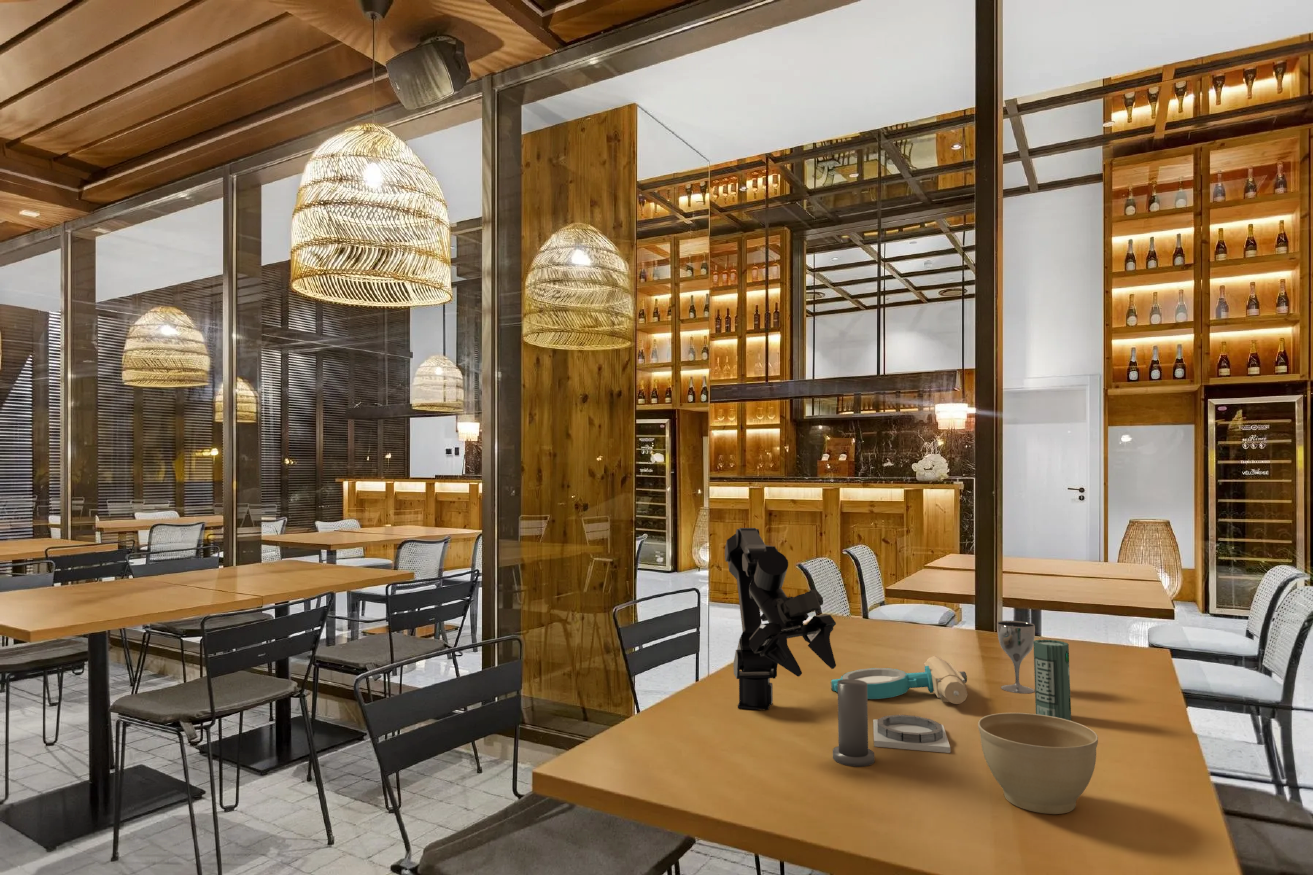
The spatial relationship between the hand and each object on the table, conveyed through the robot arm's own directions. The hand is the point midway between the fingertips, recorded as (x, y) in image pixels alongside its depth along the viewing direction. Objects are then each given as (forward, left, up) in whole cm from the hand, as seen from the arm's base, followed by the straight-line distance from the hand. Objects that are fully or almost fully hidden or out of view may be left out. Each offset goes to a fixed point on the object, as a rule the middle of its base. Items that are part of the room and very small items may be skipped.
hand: (817, 671), depth 139 cm
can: (+45, +30, -14) cm, 56 cm away
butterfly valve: (+15, +40, -14) cm, 45 cm away
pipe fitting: (+6, -5, -13) cm, 16 cm away
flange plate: (+16, +9, -13) cm, 23 cm away
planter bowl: (+33, -16, -14) cm, 39 cm away
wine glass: (+42, +51, -14) cm, 68 cm away
